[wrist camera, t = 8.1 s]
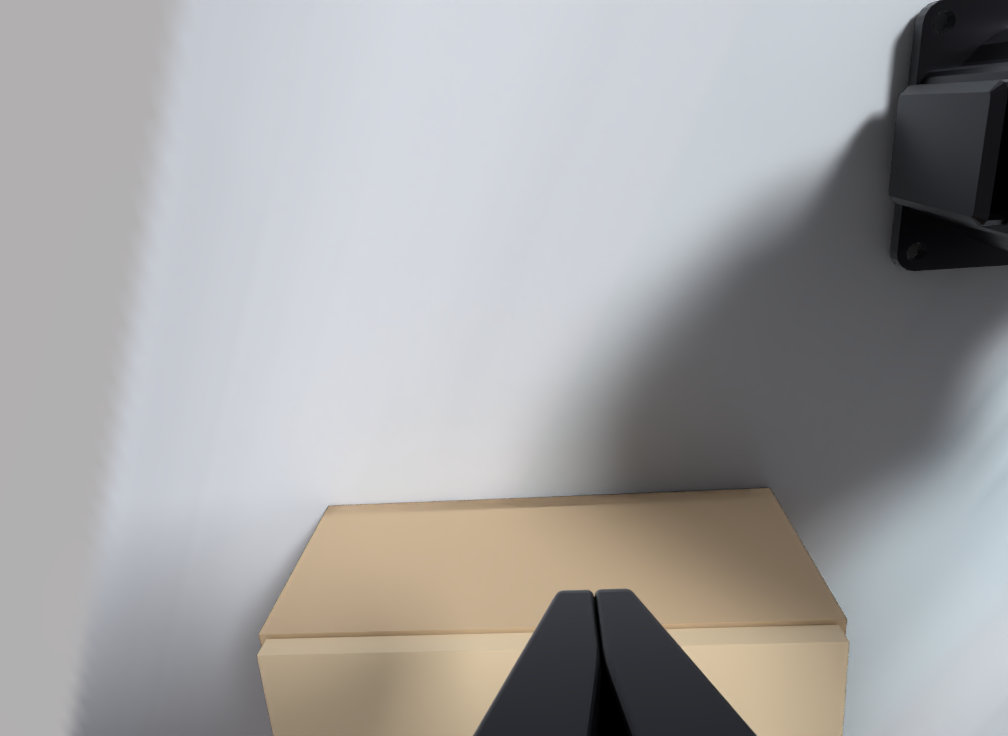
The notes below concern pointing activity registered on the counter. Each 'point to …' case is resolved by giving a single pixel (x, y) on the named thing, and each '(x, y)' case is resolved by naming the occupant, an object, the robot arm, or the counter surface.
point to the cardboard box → (550, 564)
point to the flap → (490, 657)
